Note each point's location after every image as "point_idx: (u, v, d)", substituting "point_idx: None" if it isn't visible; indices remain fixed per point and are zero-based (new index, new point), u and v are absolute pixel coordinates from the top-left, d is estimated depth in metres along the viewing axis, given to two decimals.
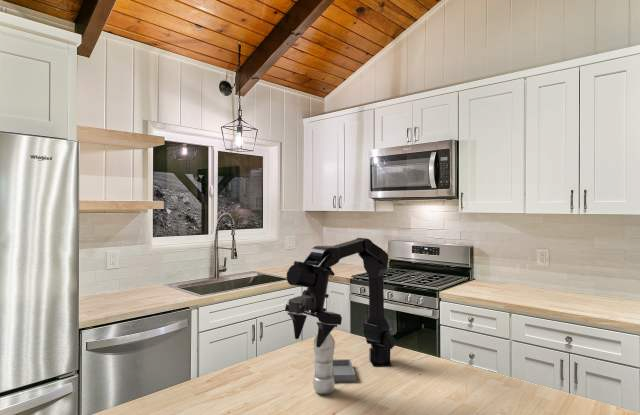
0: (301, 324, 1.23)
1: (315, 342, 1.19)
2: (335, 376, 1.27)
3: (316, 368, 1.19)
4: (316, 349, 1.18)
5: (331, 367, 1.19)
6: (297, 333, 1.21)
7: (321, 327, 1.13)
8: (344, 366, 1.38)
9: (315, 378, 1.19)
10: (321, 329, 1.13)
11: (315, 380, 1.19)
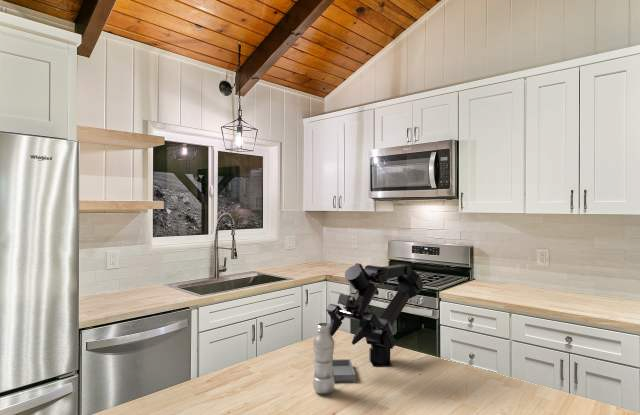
0: (337, 327, 1.32)
1: (314, 342, 1.19)
2: (335, 376, 1.27)
3: (316, 368, 1.19)
4: (316, 349, 1.18)
5: (331, 367, 1.19)
6: (332, 332, 1.30)
7: (363, 325, 1.24)
8: (344, 366, 1.38)
9: (315, 378, 1.19)
10: (362, 327, 1.24)
11: (315, 380, 1.19)
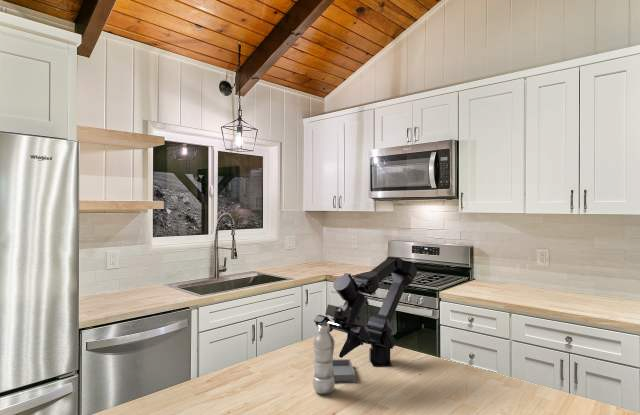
0: None
1: (315, 342, 1.19)
2: (335, 376, 1.27)
3: (316, 368, 1.19)
4: (316, 349, 1.18)
5: (331, 367, 1.19)
6: None
7: (350, 337, 1.19)
8: (344, 366, 1.38)
9: (315, 378, 1.19)
10: (349, 339, 1.19)
11: (315, 380, 1.19)
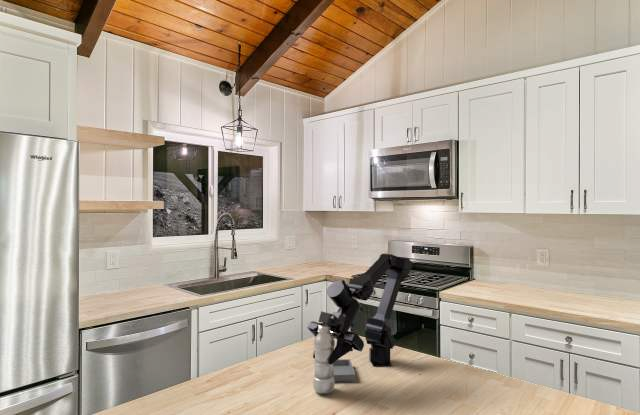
0: None
1: (315, 342, 1.19)
2: (335, 376, 1.27)
3: (316, 368, 1.19)
4: (316, 349, 1.18)
5: (331, 367, 1.19)
6: None
7: (340, 344, 1.18)
8: (344, 366, 1.38)
9: (315, 378, 1.19)
10: (339, 346, 1.18)
11: (315, 380, 1.19)
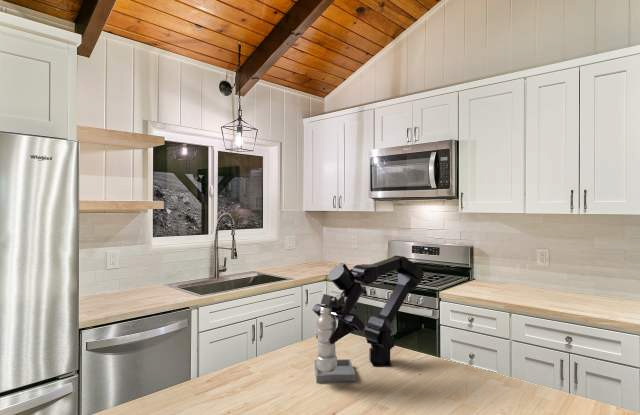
0: None
1: (317, 323, 1.24)
2: (335, 376, 1.27)
3: (319, 347, 1.25)
4: (318, 329, 1.24)
5: (333, 347, 1.25)
6: None
7: (341, 325, 1.23)
8: (344, 366, 1.38)
9: (318, 357, 1.25)
10: (340, 327, 1.23)
11: (318, 359, 1.25)
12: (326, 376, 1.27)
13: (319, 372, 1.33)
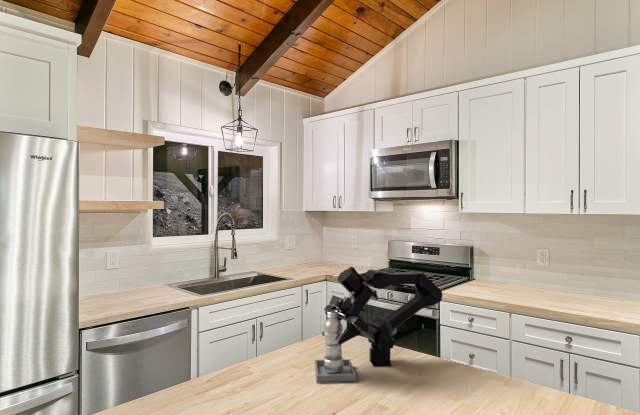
0: None
1: (324, 326, 1.32)
2: (335, 376, 1.27)
3: (325, 350, 1.32)
4: (324, 332, 1.31)
5: (339, 350, 1.31)
6: None
7: (349, 326, 1.28)
8: (344, 366, 1.38)
9: (325, 359, 1.32)
10: (348, 328, 1.28)
11: (324, 360, 1.32)
12: (326, 376, 1.27)
13: (319, 372, 1.33)
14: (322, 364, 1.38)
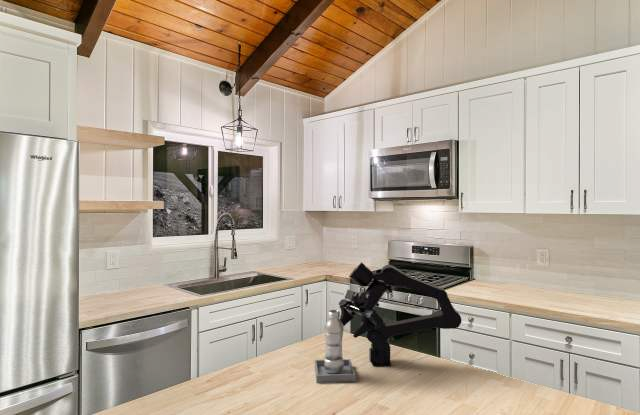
0: (346, 321, 1.41)
1: (325, 326, 1.32)
2: (335, 376, 1.27)
3: (326, 350, 1.32)
4: (325, 332, 1.31)
5: (339, 350, 1.31)
6: None
7: (364, 320, 1.31)
8: (344, 366, 1.38)
9: (325, 359, 1.32)
10: (363, 322, 1.31)
11: (325, 360, 1.32)
12: (326, 376, 1.27)
13: (319, 372, 1.33)
14: (322, 364, 1.38)
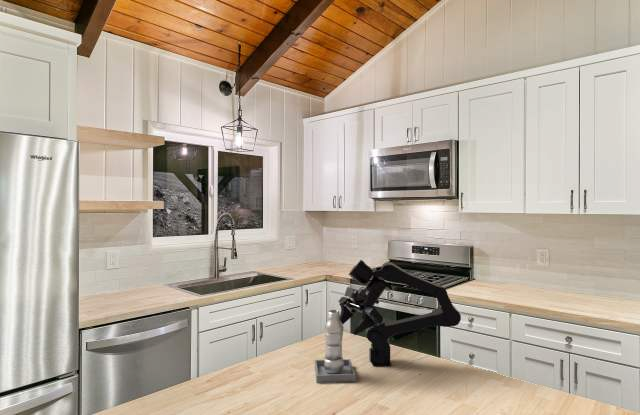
0: (346, 318, 1.41)
1: (325, 326, 1.32)
2: (335, 376, 1.27)
3: (326, 350, 1.32)
4: (325, 332, 1.31)
5: (339, 350, 1.31)
6: None
7: (364, 317, 1.31)
8: (344, 366, 1.38)
9: (325, 359, 1.32)
10: (363, 319, 1.31)
11: (325, 360, 1.32)
12: (326, 376, 1.27)
13: (319, 372, 1.33)
14: (322, 364, 1.38)
